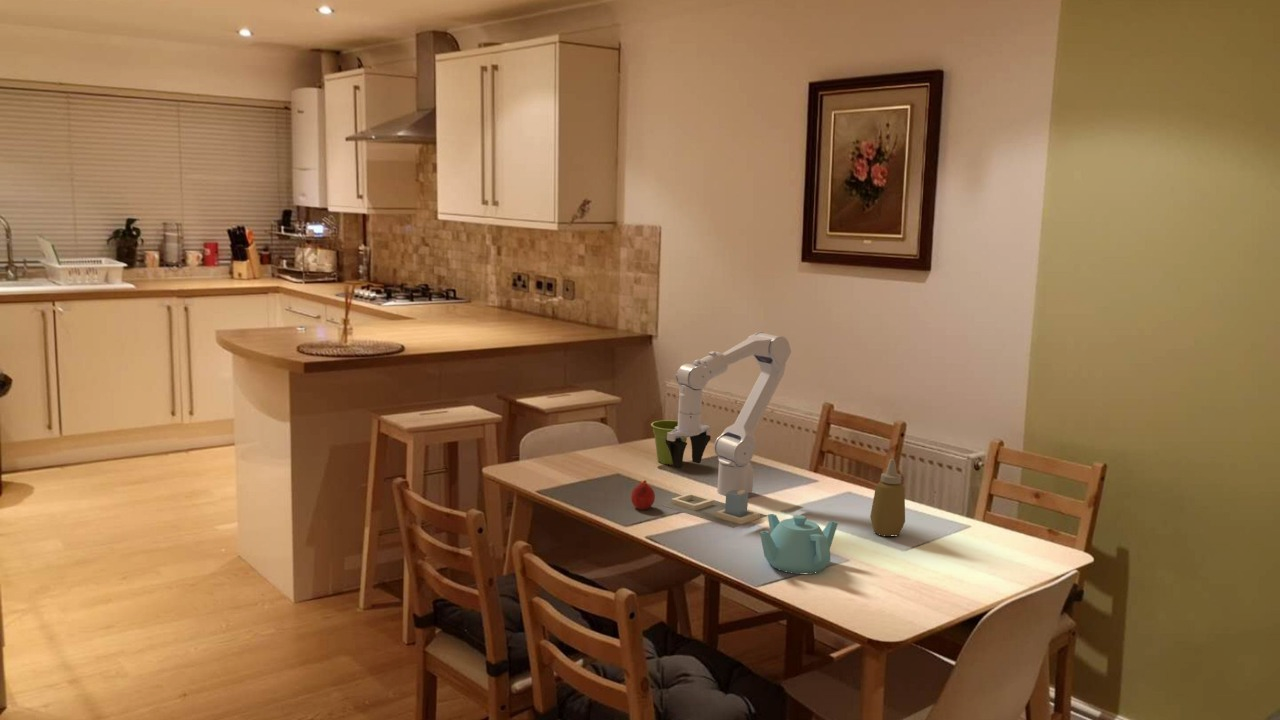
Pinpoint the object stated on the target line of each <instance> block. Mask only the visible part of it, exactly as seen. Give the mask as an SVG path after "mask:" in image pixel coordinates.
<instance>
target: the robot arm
mask: <svg viewBox="0 0 1280 720" xmlns="http://www.w3.org/2000/svg"><path fill="white" fill-rule="evenodd" d="M791 354H792V350H791V346H790V342H789V340H788V339H787V338H786V337H785V336H781V335H775V334H770V333H765V332H763V331H758V332H755V333H754V334H750V335H749V336H748V337H747V339H744V340H743V341H741V342H740V343H737V344H736V345H734V346H733V347H731V348H729V349H727V350H726V351H724V352H719V351H713V350H712V351H709V352H708V355H707V356H704V357H702V358H700V359H695V360H694V361H693V362H692V364H691V363H684V364H682V365H681V366H680V367H679V368H678V370H677V372H676V374H675V375H674V377H675V381H676V383H677V386H678V391H679V394H678V413H677V421H678V426H677V427H675V430H673V431H671V432H668V433H667V438H666V444H667V446H668V448H669V450H670V453H671V457H672V462H673V464H672V466H673V467H674V468H677V469H682V466H683V462H684V461H683V460H684V455H683V454H684V453H685V450H686V448H687V445H688V442H687V441H686V442H682V440H681V439H682V438H687V439H688V438H689V440H690V442H691V443H690V444H691V459H692V460H691V461H692V462H693V463H695V464H701V461H702V458H703V455H704V453H705V450H706V447H707V446H708V444H709V442H710V440H711V435H710V427H711V426H710V425H707V424H706V425H705V424H702V423H701V422H702V421H701V419H702V405H703V403H702V402H703V389H704V388H705V387H706V386H707V384H708V382H709V381H711V380H712V379H714V378H716V377H719V376H720V375H723V374H724V373H726V372H727V371H728V368H729V366H730V365H733V364H736V363H737V362H739V361H742V360H744V359H747V358H749V357H751V356H753V357H754V359H755V360H756V361H755V362H757V364H758V366H759V369H760V373H759V375H758V377H757V379H756V381H755V383H754V385H753V387H752V388H751V391H750V393H749V395H748V396H747V398H746V401H745V402H744V404H743V406H742V407H741V410H740V412H739V414H738V416H737V418H736V420H735V421H734V423H733V424H731V425H729V426H727V427H726V428H724V431H723V432H722V433H721V435H720V434H719V436H717V438H716V440H715V441H714V443H713V451H714V453H715V455H716V456H717V461H718V472H717V473H718V474H717V487H716V488H717V491H716V493H717V494H719V495H722V496H725V497H726V493H728V492H730V491H732V490H738V491H740V490H745V492H748V494H749V493H751V494H755V492H753V488H754V486H753V484H754V467H753V466H752V464H751V461H752V459H753V456H754V451H755V447H756V445H757V440H756V437H755V435H754V432H755V430H756V429H757V427H758V425H759V423H760V422H761V419H762V417H763V415H764V414H765V411H766V410H767V407H768V405H769V404H770V402H771V399H772V398H773V396H774V394H775V392H776V390H777V388H778V386H779V384H780V382H781V380H782V379H783V377H784V373H785V367H786V363H787V362H788V359H789V358H790V356H791Z"/></svg>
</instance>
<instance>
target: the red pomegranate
mask: <svg viewBox="0 0 1280 720" xmlns="http://www.w3.org/2000/svg"><path fill="white" fill-rule="evenodd" d="M630 498H631V499H630V500H631V503H632V505H633V507H635V508H636V509H637V510H642V511H643V510H644V511H645V510H648V509H649V508H650V507H652V506H653V504H654V502H655V501H656V500H655V499H656V494H655V492H654V489H653V488H652V487H651V486H650V485H649V484H648V482H647V480H646V479H642V480H641V482H640V483H639V484H637V485H636V486H635V487H634V488H633V489H632V491H631V494H630Z"/></svg>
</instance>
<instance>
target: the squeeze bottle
mask: <svg viewBox="0 0 1280 720" xmlns="http://www.w3.org/2000/svg"><path fill="white" fill-rule="evenodd" d="M905 490H906V489H905V486H904V485H903V484H902V475H901V474H899V473H898V472H897V464H896V460H895V459H891V458H890V459H889V462H888V465H887V469H886V472H882V473H881V475H880V481H878V482H877V483H876V484H875V489H874V494H873V499H872V500H873V501H872V505H871V506H872V507H871V511H870V517H869V518H870V521H871V526H872V529H873V530H872V531H873V532H875V533H877V534H880V535H885V536H891V535H898V534H899V533H900V534H901V531H902V529H903V527H904V525H905V523H906V497H905V496H906V495H905V494H906V493H905ZM875 533H874V534H875ZM877 534H876V535H877ZM900 534H899V535H900ZM880 535H879V536H880ZM899 535H898V536H899ZM885 536H884V537H885Z"/></svg>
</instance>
